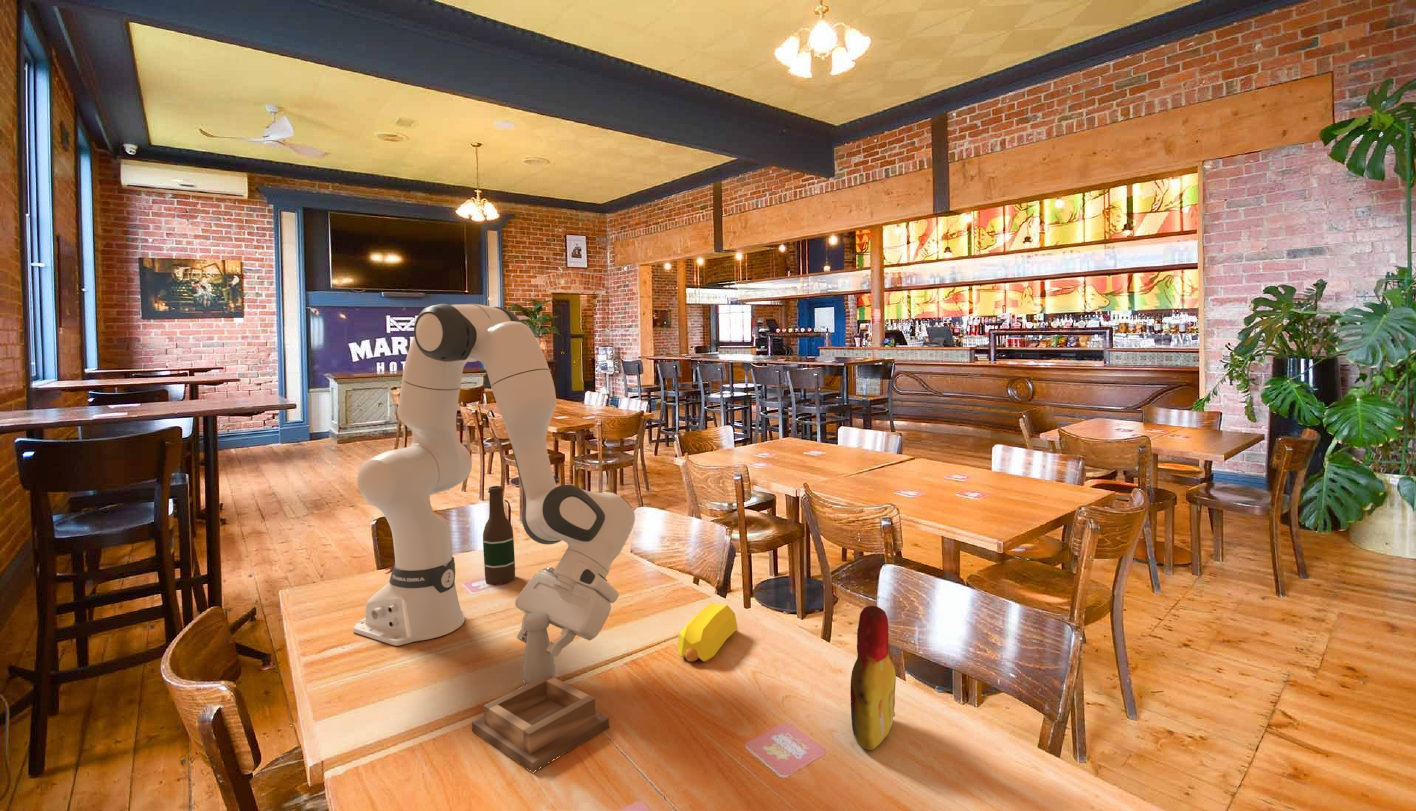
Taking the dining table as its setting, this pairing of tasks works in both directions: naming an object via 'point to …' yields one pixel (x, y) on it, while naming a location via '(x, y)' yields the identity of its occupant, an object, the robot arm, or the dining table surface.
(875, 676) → the bottle
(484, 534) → the beer bottle
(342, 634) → the dining table surface
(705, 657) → the yellow faceted rounded part
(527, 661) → the salt shaker
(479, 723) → the board
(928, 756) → the dining table surface
